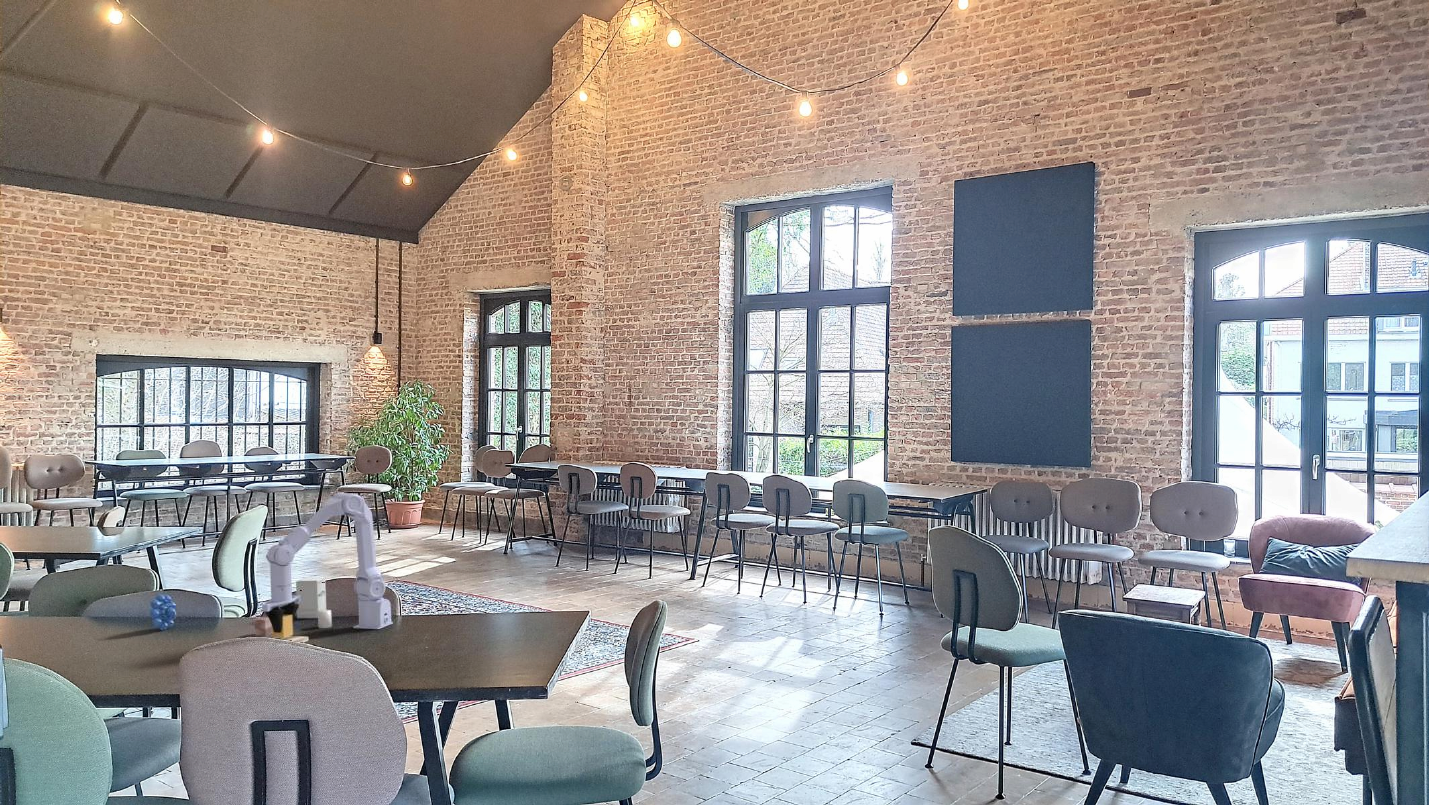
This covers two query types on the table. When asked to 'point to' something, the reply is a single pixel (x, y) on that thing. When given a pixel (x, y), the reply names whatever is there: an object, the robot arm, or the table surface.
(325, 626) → the grey cylinder
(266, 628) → the rose block
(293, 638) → the ash board
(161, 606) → the grapes
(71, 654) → the table surface
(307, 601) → the supplement box
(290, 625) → the ochre block
